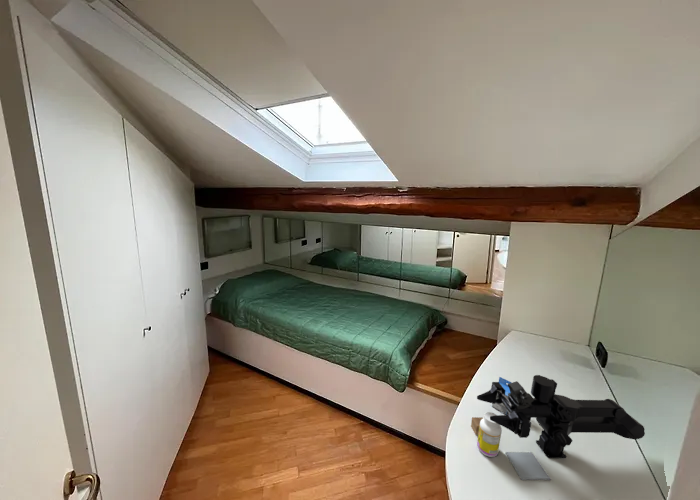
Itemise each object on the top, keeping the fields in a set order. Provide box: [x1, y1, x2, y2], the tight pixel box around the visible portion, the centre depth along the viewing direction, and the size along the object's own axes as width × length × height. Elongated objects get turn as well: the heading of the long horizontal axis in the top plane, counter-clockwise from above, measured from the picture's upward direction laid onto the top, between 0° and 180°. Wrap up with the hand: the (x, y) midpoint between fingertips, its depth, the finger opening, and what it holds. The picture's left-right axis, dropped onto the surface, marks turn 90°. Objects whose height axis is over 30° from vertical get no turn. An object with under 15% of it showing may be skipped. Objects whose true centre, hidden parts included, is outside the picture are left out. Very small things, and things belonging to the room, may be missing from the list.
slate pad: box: [505, 451, 551, 481], centre depth 93 cm, size 9×9×1 cm
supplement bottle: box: [476, 411, 503, 458], centre depth 97 cm, size 7×7×13 cm
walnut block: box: [470, 416, 484, 436], centre depth 106 cm, size 4×4×4 cm
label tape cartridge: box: [491, 376, 513, 415], centre depth 115 cm, size 9×4×12 cm, turn 42°
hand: (483, 407), depth 95 cm, fingers open, 9 cm apart
